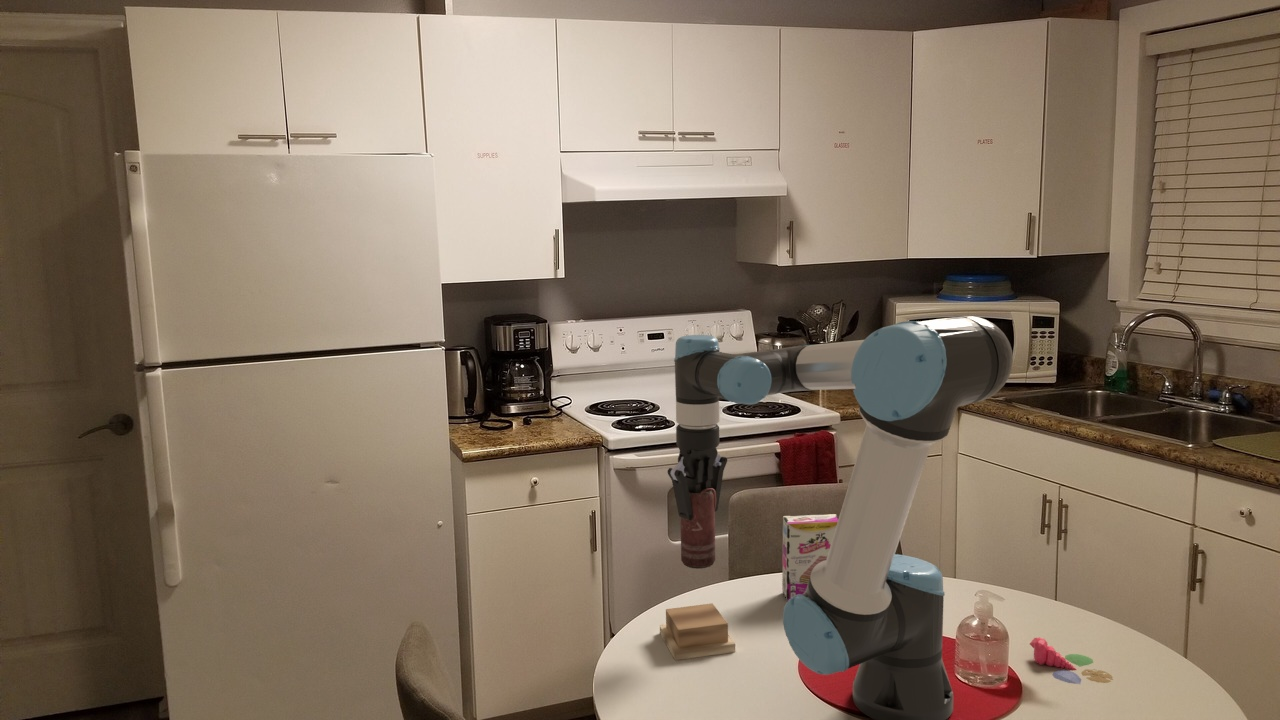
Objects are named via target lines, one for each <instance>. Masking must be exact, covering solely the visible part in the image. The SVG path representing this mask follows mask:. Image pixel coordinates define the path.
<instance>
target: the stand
mask: <svg viewBox="0 0 1280 720" xmlns="http://www.w3.org/2000/svg"><path fill="white" fill-rule="evenodd" d="M659 634H660V636H661V638H662V639H663V641H664V643H665V644H666V647H667V648H668V650H669V652H670V654H671V655H672V657H673V658H674V661H678V660H679V661H680V660H685V659H694V658H701V657H707V656H715V655H723V654H729V653H735V652H736V642H735V641H734V640H733V639H732V637H731V636H730V634H729V623H728V622H727V620H726V619H725V617H724V616H723V615H722V613H720V611H719V610H718V609H717V607H716V606H715V605H714V603H704V604H697V605H689V606H680V607H672V608H666V609H665V624H662V625H659Z"/></svg>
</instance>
